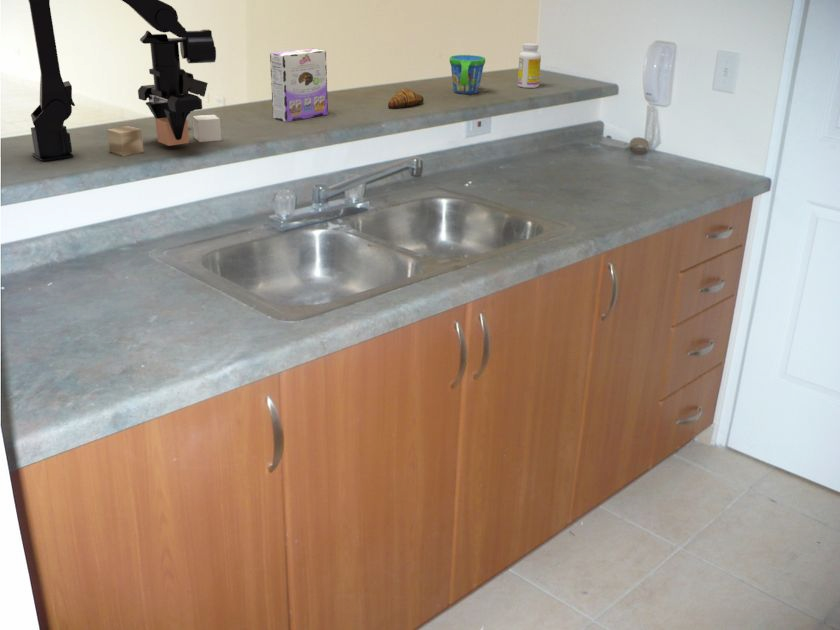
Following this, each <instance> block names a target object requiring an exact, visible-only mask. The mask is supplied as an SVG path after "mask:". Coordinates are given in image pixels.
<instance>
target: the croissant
mask: <svg viewBox="0 0 840 630" xmlns="http://www.w3.org/2000/svg"><path fill="white" fill-rule="evenodd" d="M424 100H425V99H424V96H422V94H420V93H417V92H414V91H413V90H410V89H408V88H404V89H400V90H399V91H396V92H395V94H394V95H393V96H392V97H391V98H390V99H389V101H388V103H387V107H388V108H389V109H402V108H403V109H404V108H409V107H411V108H412V107H414V106H418V105H421V104H422V103H424Z"/></svg>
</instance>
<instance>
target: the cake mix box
mask: <svg viewBox="0 0 840 630" xmlns="http://www.w3.org/2000/svg"><path fill="white" fill-rule="evenodd" d="M269 59H270V60H269V62H270V63H269V64H270V81H271V82H270V83H271V84H270V85H271V103H272V104H271V105H272V106H271V108H272V119H275V120H278V121H281V122H284V123H288V122H293V121H300V120H305V119H310V118H315V117H316V118H317V117H322V116H327V115H329V105H328V104H329V103H328V101H329V100H328V76H327V74H328V72H327V70H328V69H327V51H326V49H325V50H324V49H320V48H319V49H317V48H313V47H312V48H305V49H296V50H287V51H285V50H284V51H279V52H278V51H277V52H270V53H269Z"/></svg>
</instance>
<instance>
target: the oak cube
mask: <svg viewBox="0 0 840 630" xmlns="http://www.w3.org/2000/svg"><path fill="white" fill-rule="evenodd" d="M106 132H107V138H108V146H109V153H111V152H113V153H112V154H114V153H116V154H115V155H118V154H119V155H118V156H121V155H122V156H121V157H126V155H127V156H132V155H137V154H140V153H141V152H142V153H144V152H145V151H144V143H143V134H142V129H141V128H137V127H133V126H129V125H125V126H119V127H113V128H108V129H106ZM131 154H132V155H131Z"/></svg>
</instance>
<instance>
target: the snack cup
mask: <svg viewBox="0 0 840 630" xmlns="http://www.w3.org/2000/svg"><path fill="white" fill-rule="evenodd" d="M449 63H450V67H451V70H450V71H451V79H452V87H453V91H454V92H455V93H457V94H460V95H475V94H477V93H478V92H479V90H480V86H481V81H482V77H483V76H482V74H483V73H484V72H483V70H484V66H485V64H486V58H485V57H484V56H480V55H471V54H457V55H451V56H450V57H449Z"/></svg>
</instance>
